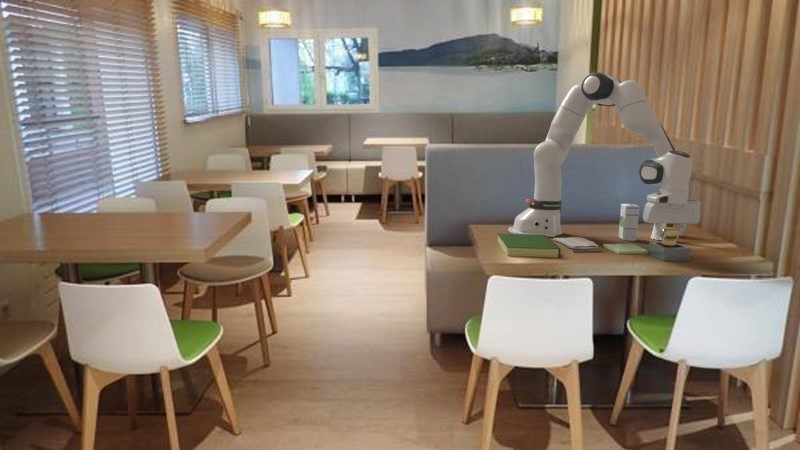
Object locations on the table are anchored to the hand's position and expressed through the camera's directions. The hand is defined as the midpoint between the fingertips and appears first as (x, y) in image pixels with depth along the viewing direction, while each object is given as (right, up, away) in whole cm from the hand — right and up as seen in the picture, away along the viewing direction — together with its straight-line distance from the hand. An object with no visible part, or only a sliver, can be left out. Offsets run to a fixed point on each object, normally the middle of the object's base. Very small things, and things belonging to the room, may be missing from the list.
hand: (669, 235), depth 213 cm
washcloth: (-29, -5, +15) cm, 33 cm away
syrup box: (-3, -2, +32) cm, 32 cm away
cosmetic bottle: (+11, -2, +34) cm, 36 cm away
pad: (-11, -6, +12) cm, 17 cm away
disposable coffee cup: (+17, -1, +45) cm, 48 cm away
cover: (0, -5, +1) cm, 6 cm away
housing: (0, -8, +1) cm, 8 cm away
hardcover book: (-49, -6, +9) cm, 51 cm away
